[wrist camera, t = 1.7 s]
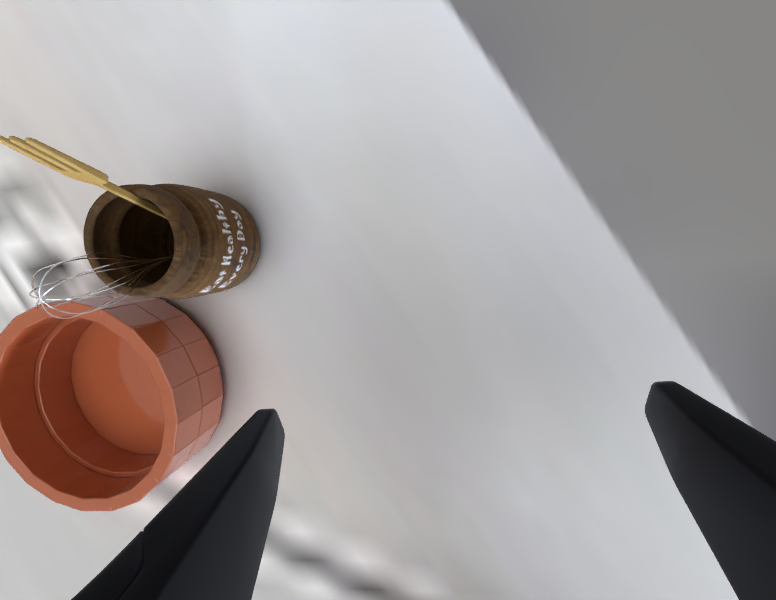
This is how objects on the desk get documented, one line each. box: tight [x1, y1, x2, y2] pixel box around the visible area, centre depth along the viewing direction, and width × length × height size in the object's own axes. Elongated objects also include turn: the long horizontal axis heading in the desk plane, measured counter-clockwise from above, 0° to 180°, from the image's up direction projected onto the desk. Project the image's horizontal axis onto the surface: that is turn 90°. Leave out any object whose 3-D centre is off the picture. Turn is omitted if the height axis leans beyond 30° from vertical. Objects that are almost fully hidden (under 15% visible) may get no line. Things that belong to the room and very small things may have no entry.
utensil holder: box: [0, 136, 260, 319], centre depth 19 cm, size 6×6×12 cm
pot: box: [0, 293, 223, 511], centre depth 25 cm, size 12×12×5 cm
